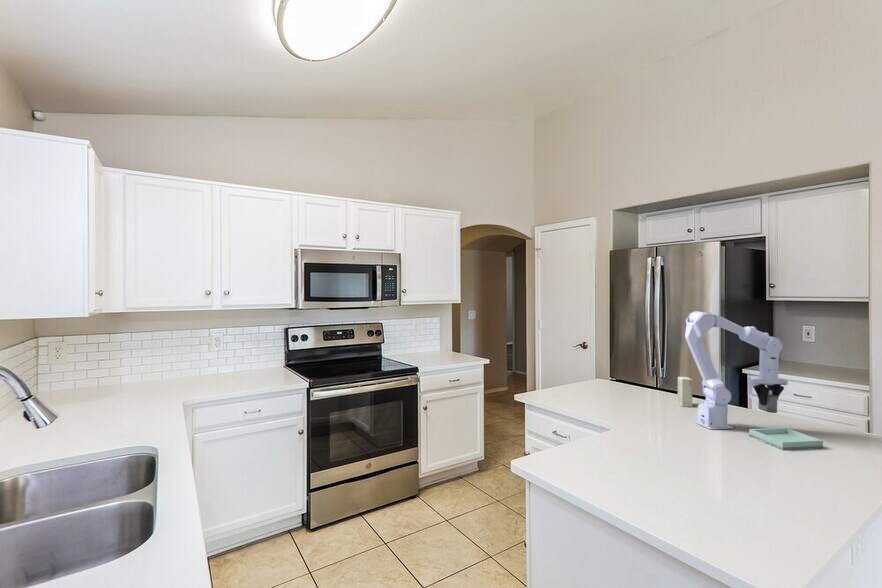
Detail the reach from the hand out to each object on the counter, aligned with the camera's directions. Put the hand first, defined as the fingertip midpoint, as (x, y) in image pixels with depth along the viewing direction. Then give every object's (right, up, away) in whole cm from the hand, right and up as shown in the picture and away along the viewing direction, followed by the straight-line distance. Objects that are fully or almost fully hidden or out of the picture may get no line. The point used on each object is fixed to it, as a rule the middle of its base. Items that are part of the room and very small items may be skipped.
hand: (767, 404), depth 163 cm
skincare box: (-13, -9, +32) cm, 35 cm away
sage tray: (-4, -10, -13) cm, 17 cm away
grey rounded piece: (0, -2, 0) cm, 2 cm away
